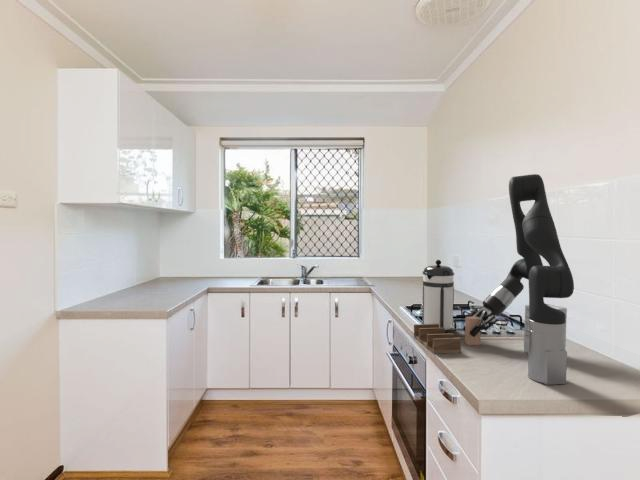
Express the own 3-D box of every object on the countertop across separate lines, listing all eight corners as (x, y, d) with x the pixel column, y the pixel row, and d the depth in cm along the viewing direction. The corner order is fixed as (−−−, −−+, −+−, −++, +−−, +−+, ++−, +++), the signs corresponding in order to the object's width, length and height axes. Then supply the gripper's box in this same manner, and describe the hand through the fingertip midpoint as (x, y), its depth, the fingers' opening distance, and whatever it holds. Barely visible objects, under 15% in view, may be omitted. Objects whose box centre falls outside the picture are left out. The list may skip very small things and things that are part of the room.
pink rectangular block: (480, 344, 149) (480, 318, 149) (468, 345, 149) (469, 318, 148) (476, 342, 152) (476, 316, 152) (464, 342, 151) (465, 316, 151)
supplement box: (546, 360, 132) (547, 310, 132) (522, 351, 141) (523, 304, 140) (566, 356, 136) (567, 307, 135) (542, 348, 145) (543, 302, 144)
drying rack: (460, 352, 140) (461, 338, 140) (433, 353, 139) (433, 339, 139) (437, 336, 160) (437, 323, 160) (413, 336, 159) (413, 324, 159)
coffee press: (462, 336, 160) (463, 261, 159) (422, 335, 162) (423, 261, 160) (452, 324, 177) (453, 257, 176) (416, 323, 179) (417, 257, 178)
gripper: (482, 290, 157) (452, 321, 157) (502, 297, 143) (470, 331, 142) (494, 303, 158) (465, 334, 157) (516, 311, 144) (484, 345, 143)
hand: (468, 332), depth 150 cm, fingers open, 5 cm apart
